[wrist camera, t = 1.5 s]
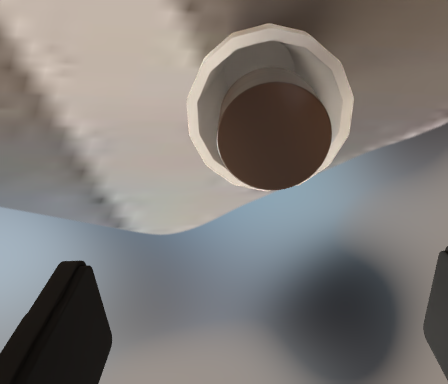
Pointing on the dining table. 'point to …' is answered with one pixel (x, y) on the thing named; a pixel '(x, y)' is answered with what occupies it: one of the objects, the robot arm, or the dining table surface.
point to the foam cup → (260, 58)
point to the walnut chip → (272, 129)
